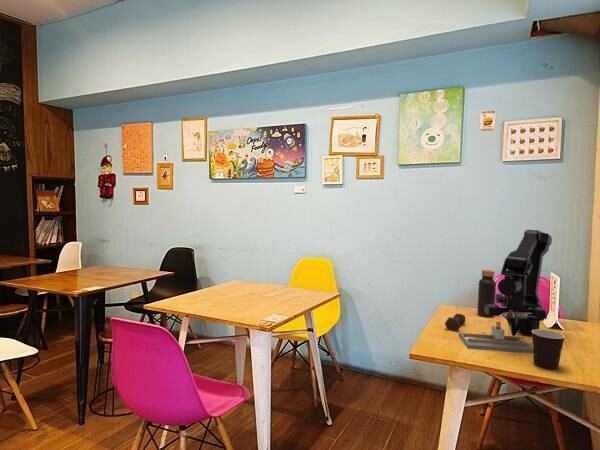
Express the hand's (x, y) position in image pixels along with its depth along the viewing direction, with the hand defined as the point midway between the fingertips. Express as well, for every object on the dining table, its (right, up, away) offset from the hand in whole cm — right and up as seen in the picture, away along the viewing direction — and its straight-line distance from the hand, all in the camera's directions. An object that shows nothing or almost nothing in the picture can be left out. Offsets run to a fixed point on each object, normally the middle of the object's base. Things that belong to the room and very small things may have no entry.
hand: (513, 335), depth 143 cm
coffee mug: (+2, -5, -16) cm, 17 cm away
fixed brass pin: (+3, -2, 0) cm, 4 cm away
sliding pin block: (-5, -2, +1) cm, 6 cm away
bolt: (-12, -2, +21) cm, 24 cm away
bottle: (+7, -2, +37) cm, 38 cm away
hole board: (-6, -3, +1) cm, 7 cm away
